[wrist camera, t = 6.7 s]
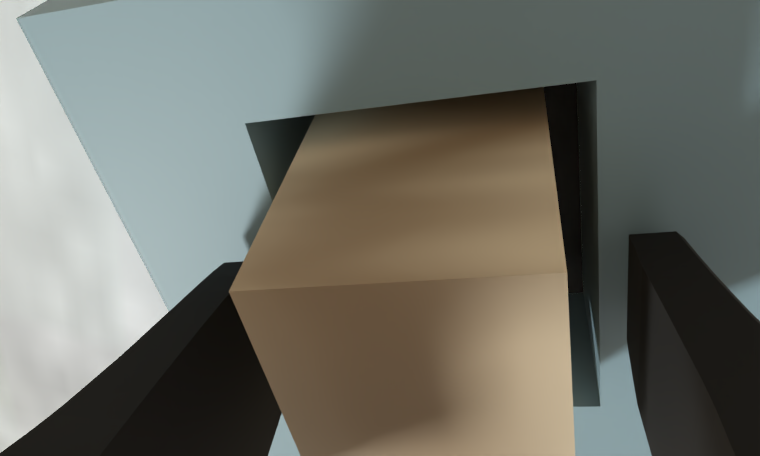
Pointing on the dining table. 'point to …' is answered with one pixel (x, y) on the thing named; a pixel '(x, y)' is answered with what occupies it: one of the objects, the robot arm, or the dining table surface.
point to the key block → (417, 283)
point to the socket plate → (418, 84)
